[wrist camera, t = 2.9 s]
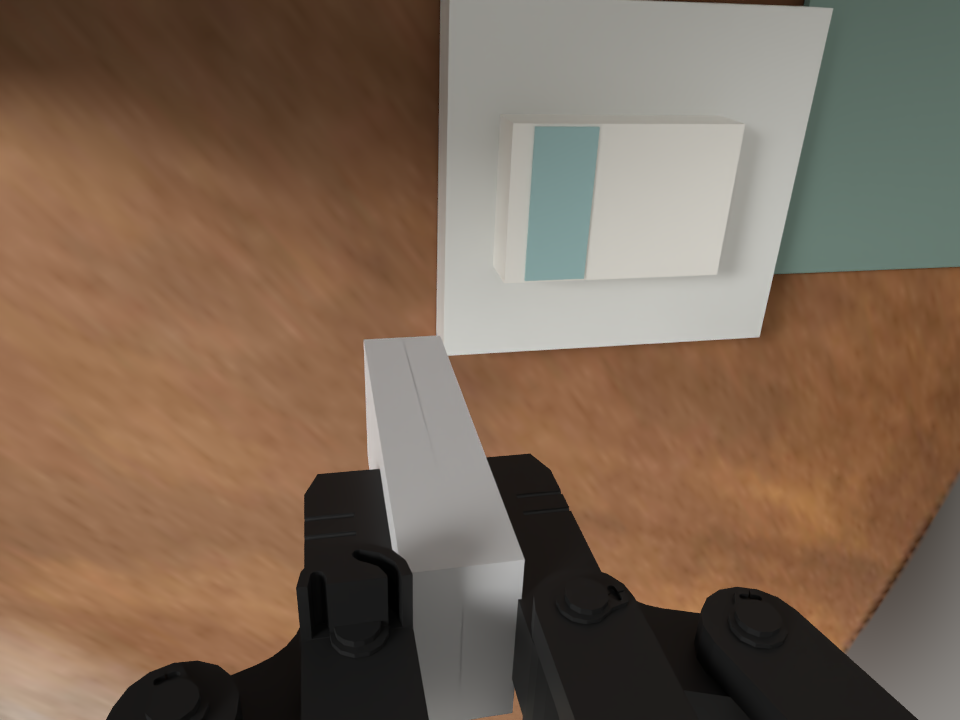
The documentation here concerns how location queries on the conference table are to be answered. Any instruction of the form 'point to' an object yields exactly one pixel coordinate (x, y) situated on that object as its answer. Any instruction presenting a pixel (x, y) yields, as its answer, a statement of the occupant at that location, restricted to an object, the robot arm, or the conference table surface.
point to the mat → (880, 143)
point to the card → (612, 195)
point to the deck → (617, 91)
